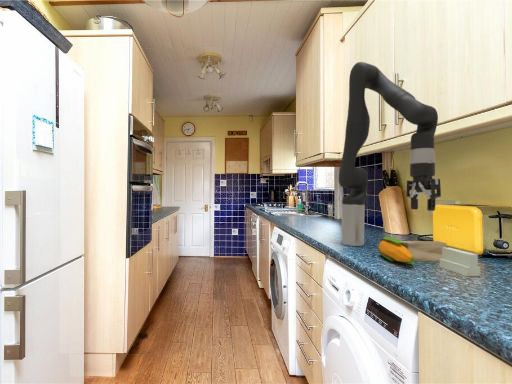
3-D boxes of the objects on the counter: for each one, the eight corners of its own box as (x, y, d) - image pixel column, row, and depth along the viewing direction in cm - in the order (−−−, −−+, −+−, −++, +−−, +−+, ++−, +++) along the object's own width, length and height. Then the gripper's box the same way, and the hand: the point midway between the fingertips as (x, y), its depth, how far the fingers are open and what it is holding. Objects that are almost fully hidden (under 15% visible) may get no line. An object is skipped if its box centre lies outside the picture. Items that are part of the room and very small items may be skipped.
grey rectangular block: (439, 266, 92) (439, 247, 92) (451, 266, 92) (451, 247, 92) (467, 276, 82) (467, 254, 82) (479, 276, 82) (480, 254, 82)
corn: (393, 233, 108) (423, 243, 88) (394, 254, 108) (424, 269, 88) (373, 234, 108) (398, 245, 88) (374, 255, 108) (399, 270, 88)
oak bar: (400, 258, 103) (401, 241, 103) (437, 258, 105) (437, 241, 105) (408, 261, 99) (408, 243, 99) (446, 260, 101) (446, 243, 101)
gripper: (399, 164, 108) (399, 209, 108) (426, 160, 94) (426, 211, 94) (418, 165, 109) (418, 209, 109) (448, 160, 95) (448, 211, 95)
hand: (422, 209), depth 102 cm, fingers open, 8 cm apart
